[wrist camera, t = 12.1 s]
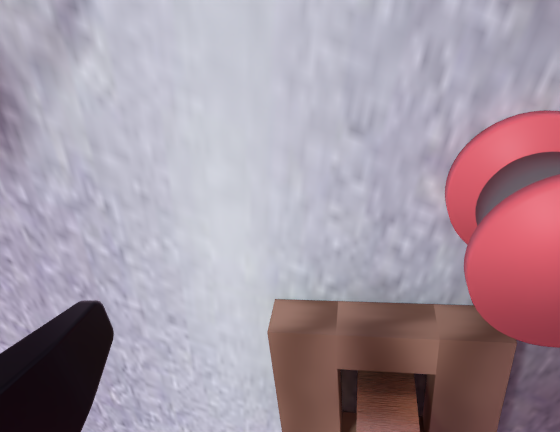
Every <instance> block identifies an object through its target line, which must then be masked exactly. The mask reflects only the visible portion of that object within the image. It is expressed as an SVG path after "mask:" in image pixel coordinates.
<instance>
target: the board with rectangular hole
mask: <svg viewBox="0 0 560 432" xmlns="http://www.w3.org/2000/svg"><path fill="white" fill-rule="evenodd" d="M267 333H268V339H269V346H270V353H271V360H272V366H273V373H274V380H275V387H276V393H277V400H278V407H279V414H280V421H281V427H282V432H356V428H357V413H353V412H343V409H342V384H341V369H345V370H363V371H381V372H399V373H417V374H427V378H426V388H425V398H424V409H423V417H419V427H420V432H497V428H498V423H499V419H500V415H501V410H502V406H503V402H504V397H505V393H506V389H507V384H508V380H509V376H510V371H511V367H512V363H513V359H514V354H515V350H516V346H517V341H516V339H514V338H511V337H509V336H507V335H505V334H503V333H501V332H500V331H498V330H497V329H495V328H494V327H492V326H491V325H490V324H489V323H488V322H487V321H486V320H484V319H483V318H482V316H481V315H480V314H479V312H478V311H477V310H476V308H475V306H471V305H440V304H408V303H376V302H345V301H313V300H282V299H275V302H274V306H273V310H272V315H271V319H270V323H269V328H268V332H267Z"/></svg>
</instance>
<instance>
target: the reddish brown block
mask: <svg viewBox="0 0 560 432" xmlns="http://www.w3.org/2000/svg"><path fill="white" fill-rule="evenodd" d="M356 432H420V427H419V417H418V408H417V398H416V388H415V378H414V373H399V372H381V371H363V370H358V375H357V428H356Z"/></svg>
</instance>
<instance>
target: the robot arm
mask: <svg viewBox="0 0 560 432" xmlns="http://www.w3.org/2000/svg"><path fill="white" fill-rule="evenodd" d="M113 336H114V332H113V327H112V325H111V323H110V320H109V318H108V315H107V313H106V311H105V308H104V306H103V304H102V303H101V302H100V301H80V302H78V303H76V304H75V305H73V306H72V307H70V308H69V309H67V310H66V311H64V312H63V313H61V314H60V315H58V316H57V317H55V318H54V319H52V320H51V321H49V322H48V323H46V324H45V325H43V326H42V327H40V328H38V329H37V330H35V331H34V332H32V333H31V334H29V335H28V336H26V337H25V338H23V339H22V340H20V341H19V342H17V343H16V344H14V345H13V346H11V347H10V348H8V349H7V350H5V351H4V352H2V353H1V354H0V432H81V430H82V428H83V425H84V423H85V421H86V419H87V416H88V414H89V411H90V409H91V406H92V403H93V401H94V398H95V395H96V392H97V389H98V385H99V382H100V379H101V376H102V373H103V370H104V367H105V363H106V360H107V357H108V354H109V351H110V348H111V344H112V341H113Z"/></svg>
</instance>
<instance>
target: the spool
mask: <svg viewBox="0 0 560 432" xmlns="http://www.w3.org/2000/svg"><path fill="white" fill-rule="evenodd" d="M445 200H446V206H447V210H448V214H449V217H450V220H451V223H452V225H453V227H454V229H455V231H456V232H457V234H458V235H459V236H460V238H461V239H462V240H463V241H464V242H465V243H466V244H468V246H467V249H466V253H465V258H464V272H465V279H466V282H467V286H468V290H469V293H470V297H471V300H472V302H473V304H474V306H475V308H476V310H477V311H478V312H479V314H480V315H481V316H482V318H483V319H484V320H486V321H487V322H488V323H489V324H490V325H491V326H492V327H494V328H495V329H497V330H498V331H500V332H501V333H503V334H505V335H507V336H509V337H511V338H514V339H516V340H519V341H522V342H526V343H529V344H534V345H540V346H547V347H560V111H534V112H528V113H523V114H518V115H515V116H512V117H509V118H506V119H504V120H502V121H500V122H497V123H495V124H493V125H492V126H490V127H488V128H487V129H485V130H484V131H482V132H481V133H479V134H478V135H477V136H475V137H474V138H473V139H472V140H471V141H470V142H469V143H468V144H467V145H466V146H465V147H464V148H463V149H462V151H461V152H460V153H459V155H458V156H457V158H456V159H455V161H454V162H453V164H452V166H451V168H450V171H449V174H448V177H447V181H446V186H445Z"/></svg>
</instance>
